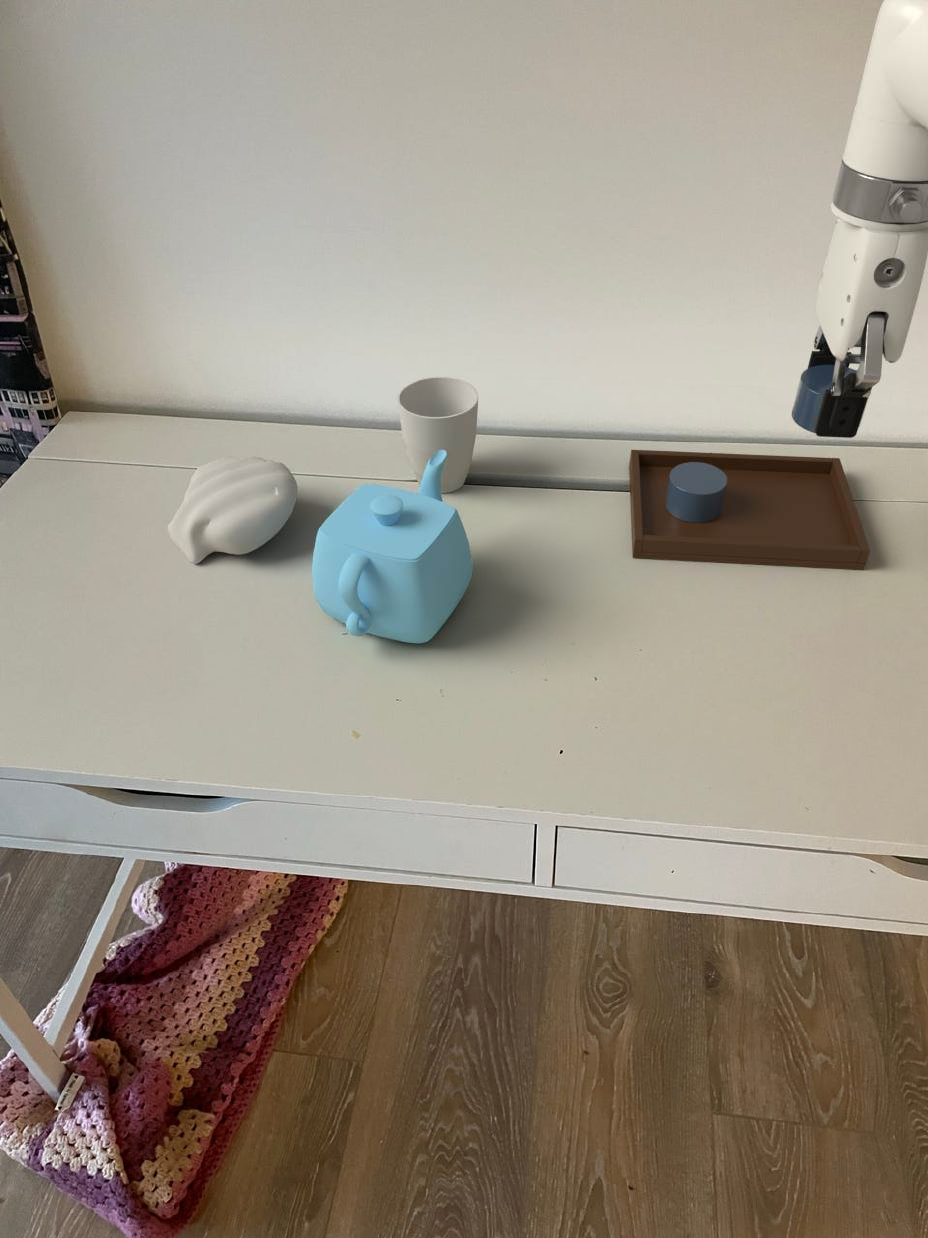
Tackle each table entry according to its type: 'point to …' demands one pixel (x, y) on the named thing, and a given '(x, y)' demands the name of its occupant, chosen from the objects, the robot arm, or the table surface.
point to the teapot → (393, 560)
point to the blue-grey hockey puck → (813, 395)
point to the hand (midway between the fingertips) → (827, 412)
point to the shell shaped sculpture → (233, 507)
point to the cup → (439, 426)
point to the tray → (751, 512)
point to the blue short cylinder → (696, 492)
